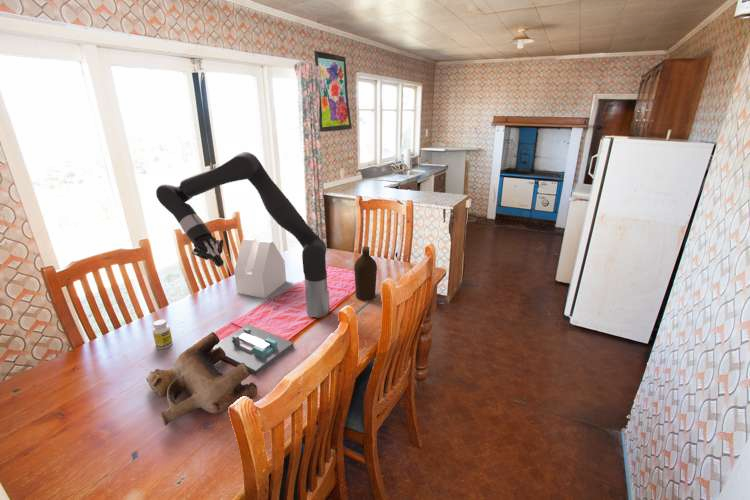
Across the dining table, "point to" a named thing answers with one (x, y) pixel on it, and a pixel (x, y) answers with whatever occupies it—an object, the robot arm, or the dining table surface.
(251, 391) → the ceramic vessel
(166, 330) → the supplement bottle
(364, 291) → the olive oil
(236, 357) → the base plate
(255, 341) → the latch lever
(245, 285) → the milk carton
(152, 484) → the dining table surface
